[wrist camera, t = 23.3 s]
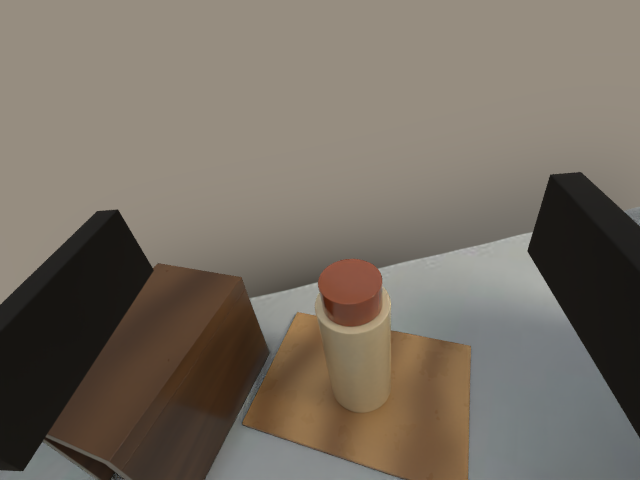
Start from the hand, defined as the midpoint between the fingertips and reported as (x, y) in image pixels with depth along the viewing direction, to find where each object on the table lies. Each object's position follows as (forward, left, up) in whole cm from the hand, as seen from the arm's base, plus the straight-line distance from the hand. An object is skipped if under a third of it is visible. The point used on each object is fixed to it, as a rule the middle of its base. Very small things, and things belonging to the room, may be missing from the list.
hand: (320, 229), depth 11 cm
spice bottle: (+3, -9, -26) cm, 28 cm away
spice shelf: (+19, -2, -27) cm, 33 cm away
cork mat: (+3, -9, -27) cm, 29 cm away
